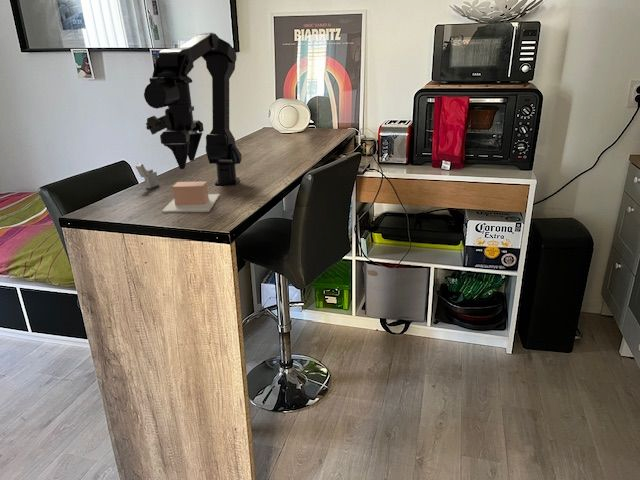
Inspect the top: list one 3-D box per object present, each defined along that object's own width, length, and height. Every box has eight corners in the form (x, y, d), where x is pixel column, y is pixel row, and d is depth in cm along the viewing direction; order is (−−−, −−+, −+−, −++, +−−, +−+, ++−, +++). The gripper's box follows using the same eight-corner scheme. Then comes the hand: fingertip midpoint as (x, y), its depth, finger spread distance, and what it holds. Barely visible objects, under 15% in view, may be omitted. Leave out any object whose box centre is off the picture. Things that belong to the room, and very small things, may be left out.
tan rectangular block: (208, 199, 137) (206, 181, 135) (204, 204, 133) (202, 186, 131) (179, 199, 137) (177, 182, 135) (175, 204, 133) (172, 186, 131)
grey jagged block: (154, 184, 154) (150, 158, 151) (158, 184, 154) (154, 159, 151) (139, 190, 148) (134, 164, 145) (144, 191, 148) (139, 164, 145)
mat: (177, 196, 142) (177, 194, 141) (219, 195, 141) (219, 194, 141) (162, 212, 129) (162, 210, 128) (208, 211, 128) (208, 209, 128)
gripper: (159, 99, 134) (167, 157, 140) (134, 108, 117) (144, 174, 122) (200, 98, 134) (207, 156, 139) (181, 107, 116) (189, 173, 122)
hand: (187, 164), depth 131 cm, fingers open, 9 cm apart
